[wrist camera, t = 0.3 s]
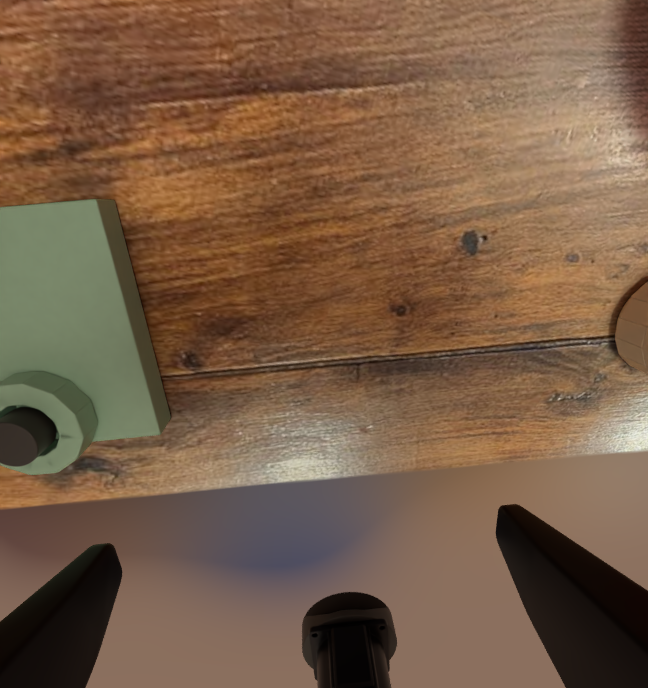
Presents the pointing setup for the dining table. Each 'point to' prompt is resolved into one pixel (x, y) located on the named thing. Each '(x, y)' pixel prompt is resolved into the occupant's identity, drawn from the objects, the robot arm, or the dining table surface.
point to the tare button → (24, 435)
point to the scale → (74, 329)
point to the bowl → (634, 330)
